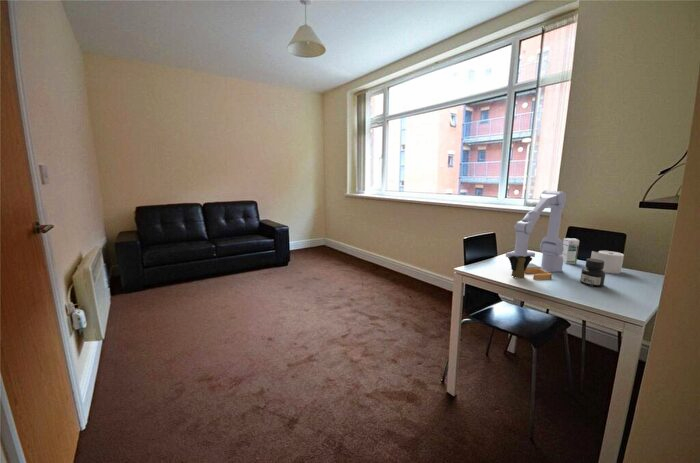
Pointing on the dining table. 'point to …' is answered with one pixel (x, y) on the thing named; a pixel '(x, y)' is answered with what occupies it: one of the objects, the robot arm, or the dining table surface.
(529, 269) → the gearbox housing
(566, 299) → the dining table surface
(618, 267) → the toilet tissue
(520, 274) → the cork
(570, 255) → the syrup box
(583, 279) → the ink bottle
